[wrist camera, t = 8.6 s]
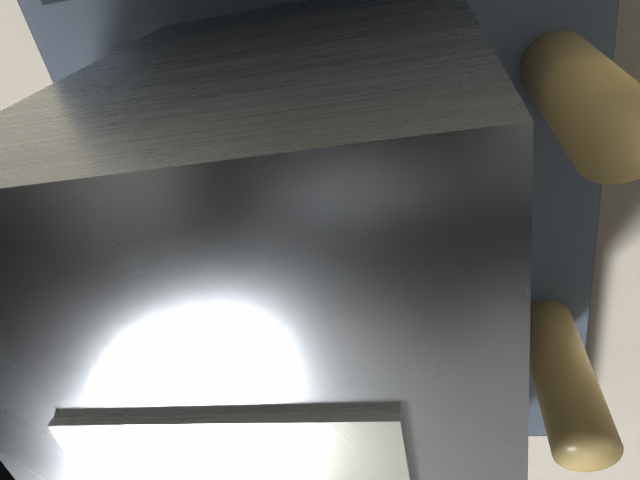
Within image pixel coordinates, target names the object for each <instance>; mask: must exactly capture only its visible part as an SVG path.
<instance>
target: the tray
mask: <svg viewBox="0 0 640 480" xmlns="http://www.w3.org/2000/svg"><path fill="white" fill-rule="evenodd" d="M297 1H302V0H17V2H18V4H19V6H20V8H21V11H22V13H23V15H24V17H25V20H26V22H27V24H28V27H29V29H30V31H31V33H32V36H33V38H34V40H35V42H36V45H37V47H38V49H39V51H40V54H41V56H42V58H43V61H44V63H45V65H46V67H47V70H48V72H49V74H50V76H51V79H52V81H53V83H55V82H57V81H59V80H61V79H63V78H65V77H67V76H69V75H71V74H72V73H74V72H76V71H78V70H80V69H82V68H84V67H86V66H88V65H90V64H91V63H93V62H95V61H97V60H99V59H101V58H103V57H105V56H107V55H109V54H110V53H112V52H114V51H116V50H118V49H120V48H122V47H124V46H126V45H128V44H129V43H131V42H133V41H135V40H137V39H139V38H141V37H143V36H145V35H147V34H148V33H150V32H152V31H154V30H156V29H158V28H160V27H164V26H170V25H175V24H180V23H186V22H191V21H196V20H201V19H207V18H212V17H217V16H223V15H228V14H233V13H238V12H244V11H249V10H254V9H260V8H265V7H270V6H275V5H281V4H286V3H291V2H297ZM466 2H467V3H468V5H469V7H470V9H471V11H472V12H473V14H474V16H475V18H476V19H477V21H478V23H479V25H480V27H481V28H482V30H483V32H484V34H485V35H486V37H487V39H488V41H489V42H490V44H491V46H492V48H493V50H494V51H495V53H496V55H497V57H498V58H499V60H500V62H501V64H502V66H503V67H504V69H505V71H506V73H507V74H508V76H509V78H510V80H511V81H512V83H513V85H514V87H515V89H516V90H517V92H518V94H519V96H520V97H521V99H522V101H523V103H524V105H525V106H526V108H527V110H528V112H529V113H530V115H531V117H532V119H533V120H534V135H533V192H532V249H531V306H530V363H529V420H528V436H547V437H548V441H549V445H550V449H551V453H552V456H553V459H554V460H555V462H556V463H557V464H559V465H560V466H562V467H564V468H566V469H568V470H572V471H577V472H594V471H599V470H603V469H606V468H608V467H610V466H612V465H614V464H615V463H616V462H618V461H619V460H620V458H621V457H622V455H623V450H624V448H623V445H622V442H621V439H620V437H619V434H618V432H617V429H616V427H615V424H614V422H613V419H612V417H611V414H610V411H609V409H608V406H607V404H606V401H605V399H604V396H603V394H602V391H601V389H600V386H599V383H598V381H597V378H596V376H595V373H594V371H593V368H592V366H591V363H590V361H589V358H588V355H587V353H586V350H585V347H586V337H587V327H588V316H589V306H590V295H591V285H592V275H593V264H594V254H595V244H596V233H597V223H598V212H599V202H600V192H601V184H603V185H621V184H626V183H630V182H633V181H636V180H638V179H640V83H639V82H638V81H637V80H635V79H634V78H633V77H632V76H630V75H629V74H628V73H627V72H625V71H624V70H623V69H622V68H620V67H619V66H618V65H617V64H615V63H614V62H613V57H614V46H615V36H616V25H617V15H618V5H619V0H466Z"/></svg>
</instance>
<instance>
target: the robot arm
mask: <svg viewBox="0 0 640 480" xmlns="http://www.w3.org/2000/svg"><path fill="white" fill-rule="evenodd" d="M0 480H15V479H14V477H13V476H12V475H11V473H10V472H9V471H8V470H7V468H6V467H5V466H4V464H3V463H2V462H1V461H0Z"/></svg>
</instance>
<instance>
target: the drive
mask: <svg viewBox="0 0 640 480" xmlns="http://www.w3.org/2000/svg"><path fill="white" fill-rule="evenodd" d="M533 135H534V120H533V119H532V117H531V115H530V113H529V112H528V110H527V108H526V106H525V105H524V103H523V101H522V99H521V97H520V96H519V94H518V92H517V90H516V89H515V87H514V85H513V83H512V81H511V80H510V78H509V76H508V74H507V73H506V71H505V69H504V67H503V66H502V64H501V62H500V60H499V58H498V57H497V55H496V53H495V51H494V50H493V48H492V46H491V44H490V42H489V41H488V39H487V37H486V35H485V34H484V32H483V30H482V28H481V27H480V25H479V23H478V21H477V19H476V18H475V16H474V14H473V12H472V11H471V9H470V7H469V5H468V3H467V2H466V0H302V1H297V2H291V3H286V4H281V5H275V6H270V7H265V8H260V9H254V10H249V11H244V12H238V13H233V14H228V15H223V16H217V17H212V18H207V19H201V20H196V21H191V22H186V23H180V24H175V25H170V26H164V27H160V28H158V29H156V30H154V31H152V32H150V33H148V34H147V35H145V36H143V37H141V38H139V39H137V40H135V41H133V42H131V43H129V44H128V45H126V46H124V47H122V48H120V49H118V50H116V51H114V52H112V53H110V54H109V55H107V56H105V57H103V58H101V59H99V60H97V61H95V62H93V63H91V64H90V65H88V66H86V67H84V68H82V69H80V70H78V71H76V72H74V73H72V74H71V75H69V76H67V77H65V78H63V79H61V80H59V81H57V82H55V83H53V84H52V85H50V86H48V87H46V88H44V89H42V90H40V91H38V92H36V93H34V94H33V95H31V96H29V97H27V98H25V99H23V100H21V101H19V102H17V103H15V104H14V105H12V106H10V107H8V108H6V109H4V110H2V111H0V461H1V462H2V463H3V464H4V466H5V467H6V468H7V470H8V471H9V472H10V473H11V475H12V476H13V477H14V479H15V480H527V477H528V420H529V363H530V306H531V249H532V192H533Z"/></svg>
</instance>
